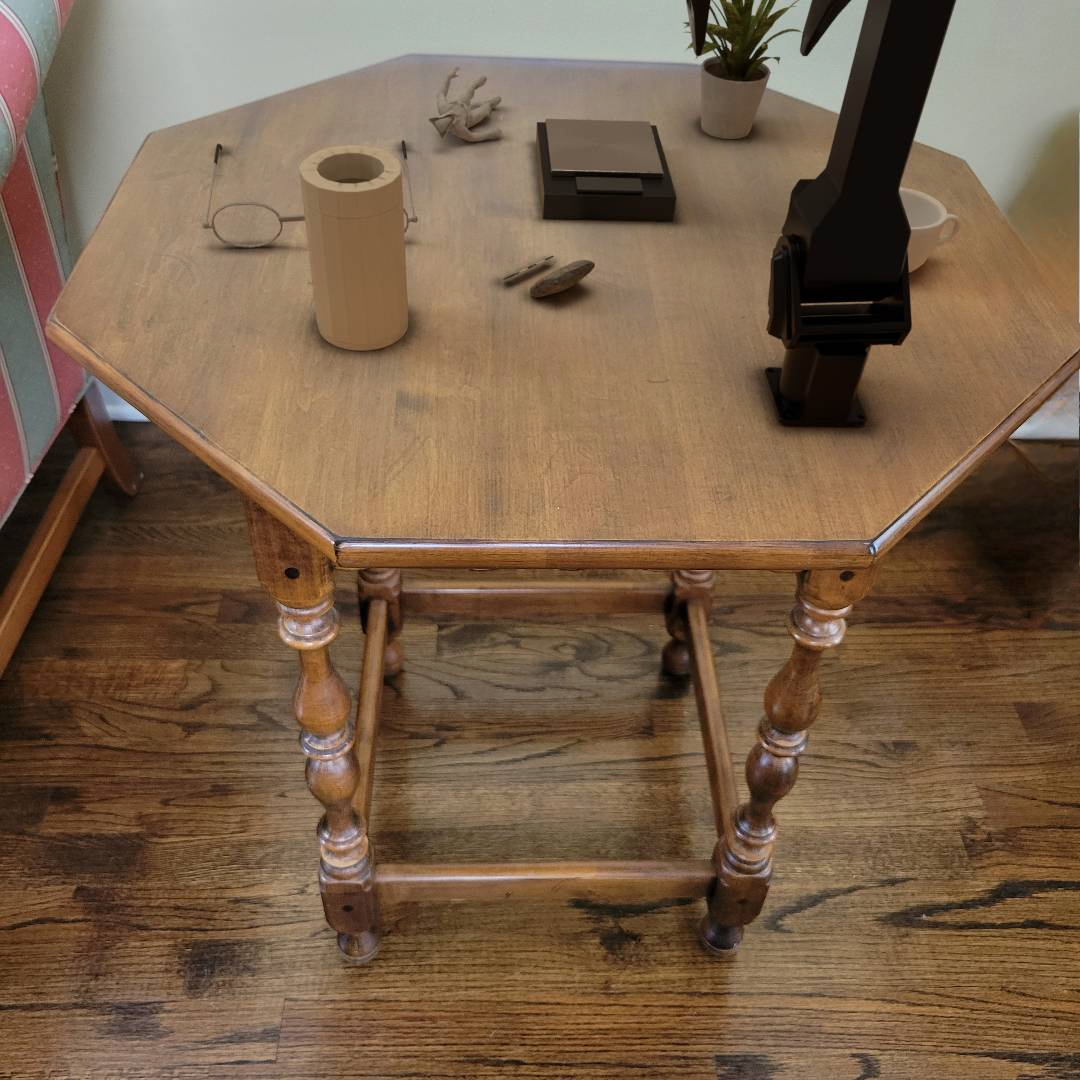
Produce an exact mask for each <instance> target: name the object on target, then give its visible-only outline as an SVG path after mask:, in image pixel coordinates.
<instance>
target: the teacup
mask: <svg viewBox="0 0 1080 1080" xmlns="http://www.w3.org/2000/svg"><path fill="white" fill-rule="evenodd" d="M899 193H900V197H901V200H902V203H903V206H904V209H905V212H906V215H907V218H908V221H909V225H910V228H911V236H910V241H909V245H908V249H907V250H908V266H909V273H912V272H913V271H916V270H917V269H919V268H920V267H921V266H922V265H923V264H924V263H925V262H927V260H928V259H929V257H930V256H931V255H932V253H933V251H934V249H935V248H936V247H939V246H941V245H943V244H945V243H948V242H949V241H951V240H952V239H954V238H955V237H956V236H957V235H958V233H959V232H960V228H961V220H960V218H959V217H958V216H957V215H955V214H953V213H948V211H947V209H946V207H945V205H943V204H942V202H941V201H939V200H938V199H936V198H935V197H933V196H931V195H929V194H927V193H924V192H922V191H919V190H916V189H913V188H906V187H902V186H900V189H899ZM951 221H953V222H954V225H953V228H952V230H951V231H950V232H949V233H948V234H947V235H944V236H942V237H940V236H941V234H942V231H943V229H944V228H945V227H944V226H945V225H946V224H947V223H949V222H951Z"/></svg>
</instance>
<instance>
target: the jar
mask: <svg viewBox="0 0 1080 1080" xmlns="http://www.w3.org/2000/svg"><path fill="white" fill-rule="evenodd" d="M298 172H299V179H300V189H301V199H302V206H303V215H304V216H305V221H304V223H305V233H306V241H307V249H308V258H309V259H308V260H309V266H310V275H311V283H312V284H311V285H312V290H313V291H312V293H313V302H314V311H315V318H316V319H315V320H316V323H317V328H318V332H319V334H320V336H321V337H322V338H323V339H324V340H325V341H326V342H327V343H329V344H330V345H333V346H335V347H337V348H341V349H344V350H349V351H358V352H359V351H360V352H361V351H362V352H363V351H364V352H365V351H373V350H379V349H383V348H386V347H389V346H391V345H393V344H395V343H397V342H398V341H400V340H401V339H402V338H403V337H404V336H405V334H406V332H407V331H408V327H409V304H408V303H409V302H408V301H409V300H408V280H407V258H406V255H407V254H406V235H405V234H406V233H405V231H404V229H405V213H404V209H405V208H404V192H403V191H404V188H403V167H402V164H401V162H400V161H399V159H397V157H396V156H395V155H393V154H391V153H390V152H387V151H385V150H383V149H380V148H377V147H376V148H375V147H371V146H367V145H350V144H348V145H347V144H346V145H338V146H332V147H326V148H323V149H320V150H318V151H315V152H313V153H311V154H309V155H308V156H307V157H306V158H305V159H304V160H302V161H301V164H300V169H299V171H298ZM403 208H404V209H403Z"/></svg>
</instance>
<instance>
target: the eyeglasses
mask: <svg viewBox="0 0 1080 1080" xmlns="http://www.w3.org/2000/svg"><path fill="white" fill-rule="evenodd" d="M401 149H402V154H403V160H404V161H405V168H406V176H407V183H408V190H409V196H410V205H411V212H412V216H411V217H409V214H408V212H407V210H406V209H405V207H403V209H404V216H405V217H406V218H405V219H406V225H405V226H404V231H405V234H406V233H407V231H408V228H409V224H410V223H418V221H419V218H418V216H416V214H415V208H414V202H413V201H414V200H413V196H412V195H413V194H412V188H411V180H410V174H409V168H408V154H407V147H406V141H405V140H404V139H402V140H401ZM220 151H221V152H223V145H222V144H220V143H217V144H216V146H215V152H214V159H213V164H214V167H213V172H212V179H211V185H210V193H209V197H208V206H207V212H206V219H205V221H203V222H202V229H204V230H207V229H212V231H213V234H214V235H215V237H216V238H217V239H218V240H219V241H220V242H222V243H223V244H227V245H230V246H231V247H237V248H251V249H252V248H259V247H263V246H267V245H268V244H271V243H273V242H274V241H275V240H277V239H278V238H279V237H280V236H281V234H282V231H283V223H292V222H305V216H304V214H292V215H291V214H290V215H280V213H279V212H278V211H277V210H276V209H274V208H273V207H271V206H269V205H268V204H265V203H261V202H256V201H255V202H254V201H237V202H231V203H227V204H224V205H223V206H221V207H219V208H217V209H216V211H215V212H214V213H213V215H212V218H211V223H209V222H208V221H209V215H210V208H211V201H212V196H213V195H212V194H213V189H214V183H215V175H216V168H217V165H218V161H219V155H220ZM234 206H257V207H261V208H264V209H266V210H269V211H271V212H272V213H273V214H275V215H276V217H277V220H278V221H279V225H280V228H279V230H278V232H277V234H276V235H274V237H272V238H270V239H269V240H267V241H264V242H260V243H254V244H253V243H251V244H246V243H245V244H244V243H236V242H233V241H229V240H227V239H224V238H223V237H221V236H220V235H219V233H218V231H217V230H216V226H215V217H216V216H217V215H218V213H219V212H222V211H223V210H225V209H226V208H230V207H234Z"/></svg>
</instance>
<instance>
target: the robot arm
mask: <svg viewBox="0 0 1080 1080" xmlns="http://www.w3.org/2000/svg"><path fill="white" fill-rule="evenodd" d="M851 1H852V0H811V2H810V5H809V10H808V13H807V16H806V20H805V23H804V27H803V31H802V32H803V33H802V35H801V40H800V46H799V53H800V54H801V56H802V57H808V56H809V55H810V54H811V52H812V51H813V50H814V48H815V47H816V45H817V44H818V43H819V41H820V40H821V38H822V37H823V36H824V34H825V33H826V32H827V31H828V30H829V28H830V27H831V26H832V24H833V23H834V22H835V20H836V19H837V17H838V16H839V15H840V14H841V13H842V11H844V10H845V8H847V6H848V5H849V4H850V3H851ZM711 2H712V0H685V3H686V10H687V14H688V15H687V17H688V22H689V23H690V26H689V30H690V32H691V33H690V35H691V43H693V53H694V55H695V57H697V56H698V57H701V56H702V55H701V54H702V50H703V47H704V43H705V40H706V38H707V33H706V31H707V24H708V23H709V16H710V6H711ZM956 2H957V0H867V3H866V7H865V11H864V15H863V20H862V23H861V26H860V27H861V28H860V32H859V35H858V38H857V39H858V40H857V43H856V47H855V51H854V55H853V60H852V63H851V67H850V71H849V75H848V79H847V83H846V87H845V91H844V96H843V99H842V103H841V107H840V110H839V116H838V119H837V123H836V126H835V132H834V136H833V139H832V143H831V146H830V152H829V155H828V160H827V163H826V165H825V168H824V169H823V170H822V171H821V172H820V173H819V174H818V175H817V176H816V178H800V179H798V180H797V182H796V184H795V185H794V186H793V188H792V190H791V192H790V197H789V203H788V204H789V205H788V209H787V214H786V217H785V221H784V223H783V226H782V228H781V235H780V236H779V237H778V239H777V240H776V243H775V246H774V248H773V249H772V254H771V255H772V257H771V258H770V276H769V277H770V278H769V286H768V287H769V288H768V298H767V307H768V310H767V311H768V312H767V313H768V320H767V325H766V328H765V330H766V332H767V334H768V336H769V335H770V336H771V337H774V338H776V339H777V340H780V341H781V343H782V345H783V347H784V349H785V352H784V356H783V360H782V362H781V367H779V366H776V367H775V366H769V367H766V368H765V369H764V372H763V378H764V380H765V383H766V386H767V390H768V393H769V397H770V400H771V402H772V405H773V409H774V411H775V414H776V417H777V420H778V422H779V423H780V424H781V425H784V426H835V427H836V426H840V427H842V426H843V427H844V426H846V427H848V426H849V427H863V426H865V425H866V424H867V421H868V416H867V414H866V411H865V408H864V406H863V403H862V401H861V398H860V397H859V394H858V389H859V386H860V383H861V379H862V377H863V374H864V371H865V367H866V364H867V361H868V358H869V355H870V351H871V348H872V346H890V345H891V346H893V347H897V346H899V347H900V346H902V345H903V343H904V341H905V340H906V339H907V337H908V336H909V334H911V331H912V328H913V322H912V319H913V318H912V303H911V302H912V301H911V286H910V272H909V266H908V250H907V249H908V245H909V241H910V236H911V228H910V225H909V221H908V218H907V215H906V212H905V209H904V206H903V203H902V200H901V197H900V193H899V189H900V187H901V184H902V180H903V177H904V174H905V171H906V167H907V164H908V162H909V161H908V160H909V157H910V153H911V150H912V147H913V143H914V141H915V138H916V135H917V131H918V128H919V123H920V120H921V118H922V114H923V111H924V108H925V104H926V101H927V98H928V95H929V92H930V88H931V85H932V82H933V79H934V75H935V72H936V68H937V66H938V62H939V59H940V55H941V53H942V49H943V45H944V42H945V39H946V36H947V33H948V29H949V26H950V23H951V19H952V16H953V12H954V9H955V7H956Z"/></svg>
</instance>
